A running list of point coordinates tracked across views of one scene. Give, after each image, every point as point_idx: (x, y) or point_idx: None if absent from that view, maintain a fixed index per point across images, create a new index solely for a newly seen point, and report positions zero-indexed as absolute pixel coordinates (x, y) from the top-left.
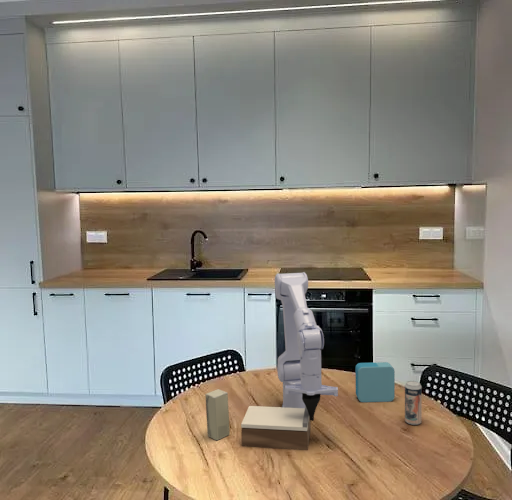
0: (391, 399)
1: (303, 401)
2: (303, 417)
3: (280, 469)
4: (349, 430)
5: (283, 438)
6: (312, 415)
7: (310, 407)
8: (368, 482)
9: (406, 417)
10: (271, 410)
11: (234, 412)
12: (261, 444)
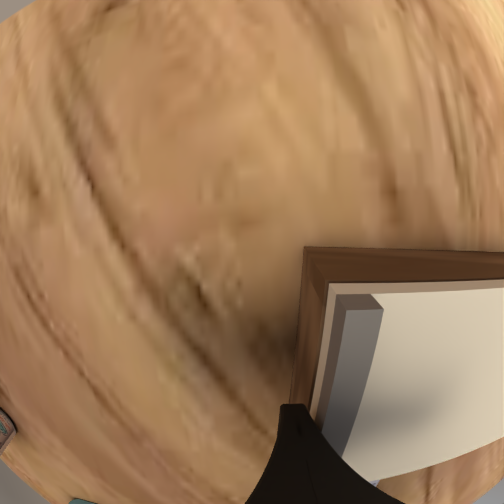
0: (75, 501)
1: (399, 501)
2: (362, 396)
3: (412, 72)
4: (131, 412)
5: (440, 264)
6: (291, 427)
7: (316, 473)
8: (56, 38)
9: (1, 426)
10: (475, 431)
11: None
12: (491, 255)
